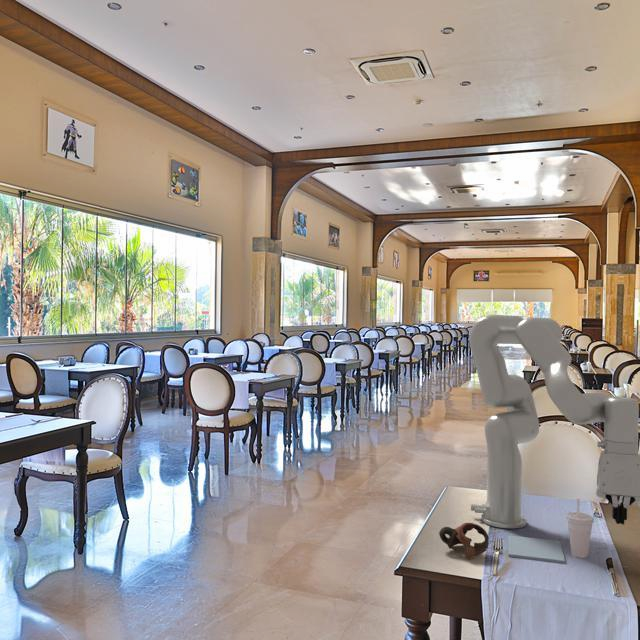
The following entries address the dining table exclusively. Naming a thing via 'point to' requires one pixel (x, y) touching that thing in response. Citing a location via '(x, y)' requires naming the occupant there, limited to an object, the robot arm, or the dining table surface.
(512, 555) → the mat
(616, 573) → the dining table surface
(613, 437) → the robot arm
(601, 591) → the dining table surface
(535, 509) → the dining table surface
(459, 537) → the brown twisted looped piece
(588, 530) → the smoothie
